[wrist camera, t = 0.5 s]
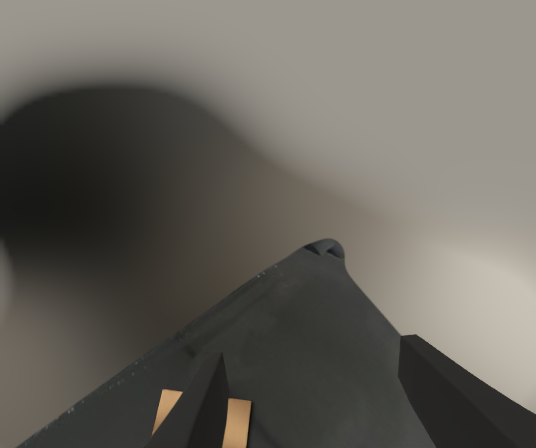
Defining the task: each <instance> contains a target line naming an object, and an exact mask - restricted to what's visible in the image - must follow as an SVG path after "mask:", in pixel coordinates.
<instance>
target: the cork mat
mask: <svg viewBox="0 0 536 448" xmlns="http://www.w3.org/2000/svg"><path fill="white" fill-rule="evenodd" d="M182 393H183V392H180V391H173V390H165V389H164V390H163V392H162V396H161V400H160V404H159V408H158V412H157V417H156V421H155V425H154V429H153V433H152V435H153V434H154V432H155V431H156V430H157V428H158V427H159V426H160V424H161V423H162V421H163V420H164V419H165V417H166V416H167V415H168V413H169V412H170V410H171V409H172V408H173V406H174V405H175V403H176V402H177V400H178V399H179V397H180V396H181V394H182ZM250 410H251V401H247V400H239V399H232V398H229V400H228V413H227V423H226V429H225V435H224V441H223V446H222V448H246V445H247V437H248V428H249V419H250Z"/></svg>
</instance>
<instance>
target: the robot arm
mask: <svg viewBox="0 0 536 448" xmlns="http://www.w3.org/2000/svg"><path fill="white" fill-rule="evenodd" d="M398 377H399V379H400V382H401V384H402V386H403V388H404V391H405V393H406V395H407V397H408V399H409V401H410V403H411V405H412V407H413V409H414V410H415V412H416V414H417V416H418V417H419V419H420V421H421V422H422V424H423V426H424V428H425V429H426V431H427V433H428V434H429V436H430V438H431V439H432V441H433V443H434V444H435V446H436V448H536V414H534V413H532V412H531V411H529V410H527V409H525V408H524V407H522V406H521V405H519V404H517V403H516V402H514V401H512V400H511V399H509V398H508V397H506V396H504V395H503V394H502V393H500V392H498V391H497V390H495V389H494V388H492V387H491V386H489V385H488V384H486V383H485V382H483V381H481V380H480V379H479V378H477V377H476V376H474V375H473V374H471V373H470V372H468V371H467V370H465V369H464V368H463V367H461V366H460V365H458V364H457V363H455V362H454V361H453V360H451V359H450V358H448V357H447V356H446V355H444V354H443V353H441V352H440V351H439V350H437V349H436V348H435V347H433V346H432V345H430V344H429V343H428V342H426V341H425V340H423V339H422V338H420V337H419V336H417V335H405V336H401V340H400V355H399V369H398ZM228 400H229V388H228V382H227V376H226V371H225V365H224V359H223V354H222V352H218V353H207V354H206V355H205V357H204V359H203V360H202V362H201V364H200V365H199V367H198V369H197V370H196V372H195V374H194V375H193V377H192V379H191V380H190V382H189V383H188V385H187V387H186V388H185V390H184V391H183V393H182V394H181V396H180V397H179V399H178V400H177V402H176V403H175V405H174V406H173V408H172V409H171V410H170V412H169V413H168V415H167V416H166V417H165V419H164V420H163V421H162V423H161V424H160V426H159V427H158V428H157V430H156V431H155V432H154V434H153V435H152V436H151V438H150V439H149V440H148V441H147V443H146V444H145V445H144V446H143V448H222V446H223V441H224V435H225V429H226V423H227V413H228Z"/></svg>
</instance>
